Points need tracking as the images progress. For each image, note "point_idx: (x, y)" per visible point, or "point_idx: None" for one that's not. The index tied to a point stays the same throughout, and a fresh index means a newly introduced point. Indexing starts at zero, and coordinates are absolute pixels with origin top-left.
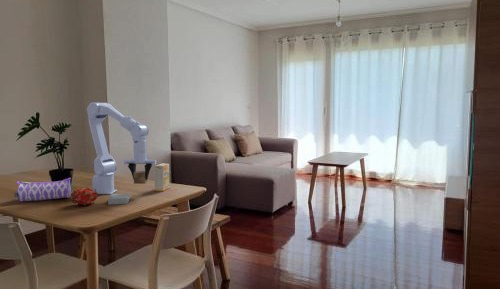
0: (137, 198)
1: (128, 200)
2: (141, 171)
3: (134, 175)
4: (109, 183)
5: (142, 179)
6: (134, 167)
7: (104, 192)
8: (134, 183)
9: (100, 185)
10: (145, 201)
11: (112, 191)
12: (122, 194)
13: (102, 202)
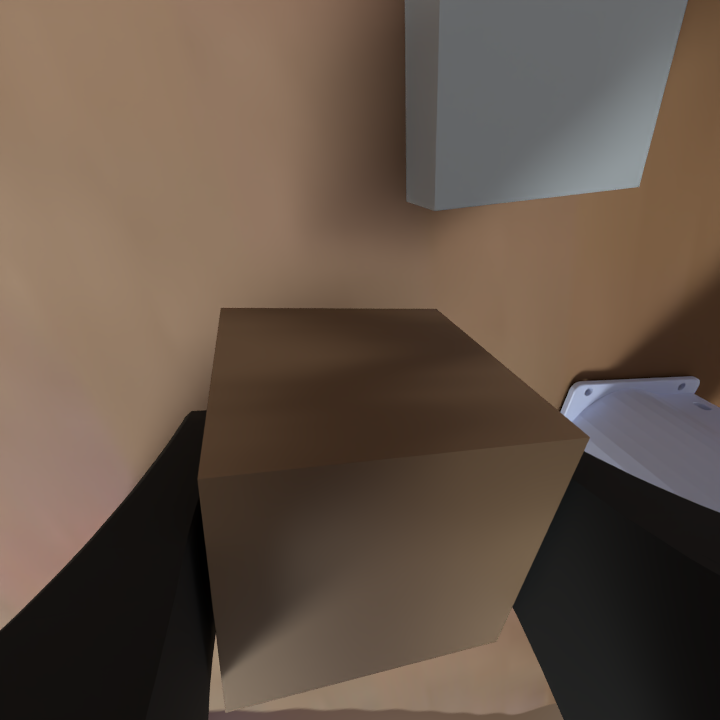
0: (322, 228)
1: (411, 44)
2: (376, 642)
3: (515, 393)
4: (659, 458)
5: (274, 347)
6: (671, 710)
7: (629, 391)
8: (426, 309)
9: (711, 429)
10: (155, 22)
11: None
12: (520, 155)
13: (678, 55)
